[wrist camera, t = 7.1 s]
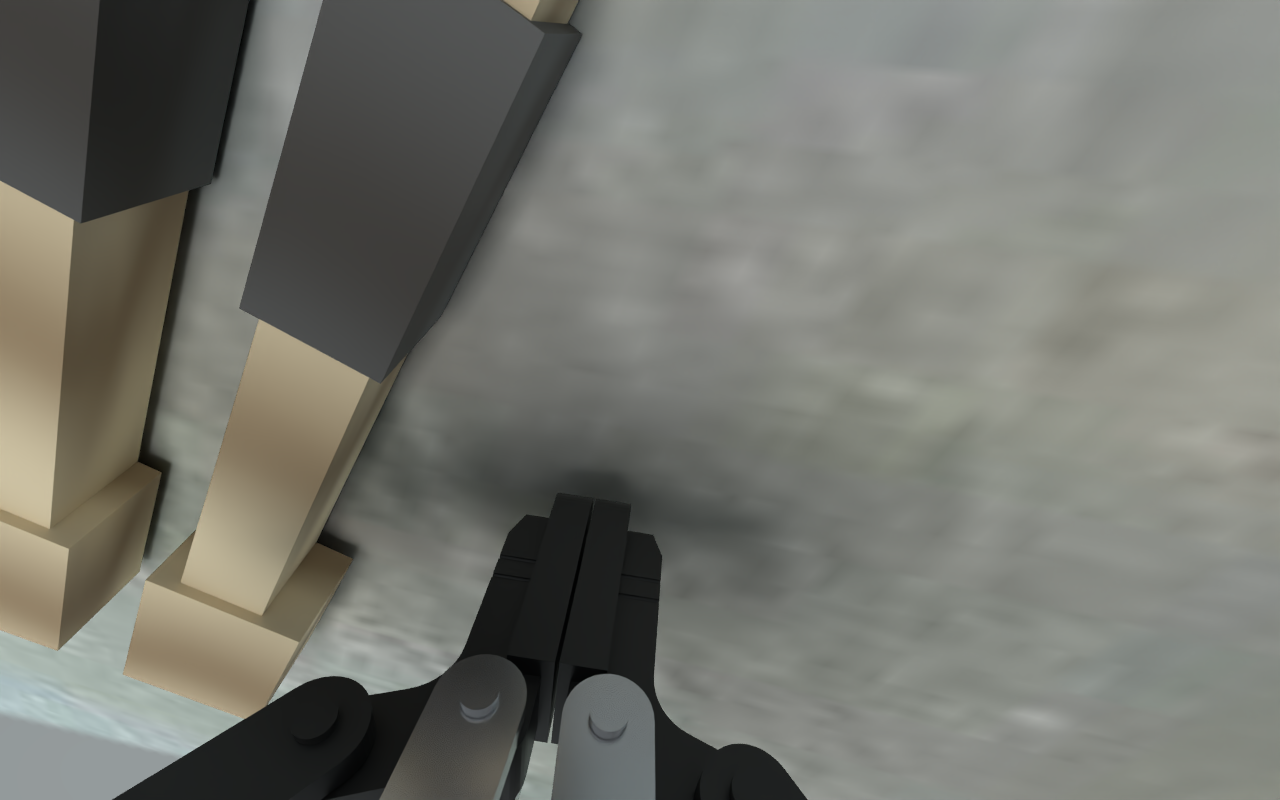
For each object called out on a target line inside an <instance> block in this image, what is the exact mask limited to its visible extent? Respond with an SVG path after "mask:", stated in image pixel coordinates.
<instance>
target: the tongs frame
mask: <svg viewBox="0 0 1280 800" xmlns="http://www.w3.org/2000/svg"><path fill="white" fill-rule="evenodd" d="M248 3H249V0H0V630H2V631H4V632H7V633H10V634H13V635H15V636H18V637H21V638H24V639H26V640H29V641H32V642H35V643H38V644H40V645H43V646H46V647H49V648H51V649H54V650H57V651H58V650H59V649H60V648H61V647H62V646H63V645H64V644H65V643H66V642H67V641H68V640H70V639H71V638H72V637H73V636H74V635H75V634H76V633H77V632H78V631H79V630H80V629H81V628H82V627H83V626H84V625H85V624H86V623H87V622H88V621H89V620H90V619H91V618H92V617H93V616H94V615H95V614H96V613H97V612H98V611H99V610H100V609H101V608H103V607H104V606H105V605H106V604H107V603H108V602H109V601H110V600H111V599H112V598H113V597H114V596H115V595H116V594H117V593H118V592H119V591H120V590H121V589H122V588H123V587H124V586H125V585H126V584H127V583H128V582H129V581H130V580H131V579H132V578H133V577H134V576H136V575H137V574H138V573H139V571H140V567H141V562H142V558H143V554H144V549H145V545H146V540H147V536H148V531H149V527H150V522H151V518H152V513H153V509H154V504H155V500H156V495H157V491H158V487H159V482H160V478H161V472H159V471H157V470H155V469H152V468H150V467H148V466H146V465H144V464H141V463H139V462H138V457H139V452H140V446H141V441H142V436H143V430H144V425H145V420H146V414H147V409H148V404H149V398H150V393H151V388H152V383H153V377H154V372H155V367H156V361H157V356H158V351H159V345H160V340H161V335H162V329H163V324H164V319H165V314H166V308H167V303H168V298H169V292H170V287H171V282H172V276H173V271H174V266H175V260H176V255H177V250H178V245H179V239H180V234H181V229H182V223H183V218H184V213H185V207H186V202H187V197H188V191H189V190H192V189H195V188H198V187H201V186H205V185H208V184H211V180H212V176H213V171H214V166H215V161H216V156H217V152H218V147H219V142H220V137H221V132H222V128H223V123H224V118H225V113H226V108H227V104H228V99H229V94H230V89H231V84H232V80H233V75H234V70H235V65H236V61H237V56H238V51H239V46H240V41H241V37H242V32H243V27H244V22H245V17H246V13H247V8H248Z"/></svg>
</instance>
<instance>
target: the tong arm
mask: <svg viewBox="0 0 1280 800" xmlns="http://www.w3.org/2000/svg"><path fill="white" fill-rule="evenodd" d="M578 1H579V0H323V3H322V6H321V10H320V14H319V17H318V21H317V25H316V28H315V32H314V36H313V39H312V43H311V47H310V50H309V54H308V58H307V61H306V65H305V69H304V72H303V76H302V80H301V83H300V87H299V91H298V94H297V98H296V102H295V105H294V109H293V113H292V116H291V120H290V124H289V127H288V131H287V135H286V138H285V142H284V146H283V149H282V153H281V157H280V160H279V164H278V168H277V171H276V175H275V179H274V182H273V186H272V190H271V193H270V197H269V201H268V204H267V208H266V212H265V216H264V219H263V223H262V227H261V230H260V234H259V238H258V241H257V245H256V249H255V252H254V256H253V260H252V263H251V267H250V271H249V274H248V278H247V282H246V285H245V289H244V293H243V296H242V300H241V304H240V307H239V308H240V309H242V310H243V311H245V312H247V313H249V314H251V315H253V316H255V317H257V318H258V319H259V321H258V324H257V328H256V331H255V334H254V338H253V341H252V344H251V348H250V351H249V354H248V358H247V361H246V365H245V368H244V371H243V375H242V378H241V381H240V385H239V388H238V391H237V395H236V398H235V401H234V405H233V408H232V411H231V415H230V418H229V422H228V425H227V428H226V432H225V435H224V438H223V442H222V445H221V448H220V452H219V455H218V458H217V462H216V465H215V469H214V472H213V475H212V479H211V482H210V485H209V489H208V492H207V495H206V499H205V502H204V505H203V509H202V512H201V515H200V519H199V522H198V526H197V529H196V530H195V531H194V532H193V533H192V534H191V535H190V536H189V537H188V538H187V539H186V540H185V541H184V542H183V543H182V544H181V545H180V546H179V547H178V548H177V549H176V550H175V551H174V552H173V553H172V554H171V555H170V556H169V557H168V558H167V559H166V560H165V561H164V562H163V563H162V564H161V565H160V566H159V567H158V568H157V569H156V570H155V571H154V572H153V573H152V574H151V575H150V576H149V577H148V578H147V579H146V581H145V585H144V589H143V593H142V597H141V602H140V606H139V610H138V614H137V618H136V622H135V626H134V631H133V635H132V639H131V643H130V647H129V651H128V655H127V660H126V664H125V668H124V672H123V675H126V676H128V677H131V678H134V679H137V680H139V681H142V682H145V683H148V684H150V685H153V686H156V687H159V688H161V689H164V690H167V691H170V692H172V693H175V694H178V695H181V696H183V697H186V698H189V699H192V700H194V701H197V702H200V703H202V704H205V705H208V706H211V707H213V708H216V709H219V710H222V711H224V712H227V713H230V714H233V715H235V716H238V717H241V718H244V719H246V718H247V717H249V716H251V715H252V714H254V713H256V712H257V711H259V710H261V709H262V708H264V707H266V706H267V704H268V703H269V701H270V700H271V698H272V697H273V695H274V693H275V692H276V690H277V689H278V687H279V686H280V684H281V682H282V681H283V679H284V678H285V676H286V675H287V673H288V671H289V670H290V668H291V667H292V665H293V664H294V662H295V660H296V659H297V657H298V656H299V654H300V653H301V651H302V649H303V648H304V646H305V645H306V643H307V642H308V640H309V638H310V636H311V634H312V633H313V631H314V629H315V627H316V625H317V624H318V622H319V620H320V618H321V616H322V615H323V613H324V611H325V609H326V607H327V606H328V604H329V602H330V600H331V598H332V597H333V595H334V593H335V591H336V589H337V588H338V586H339V584H340V582H341V580H342V579H343V577H344V575H345V573H346V571H347V569H348V568H349V566H350V564H351V562H352V560H353V559H352V558H350V557H348V556H345V555H343V554H341V553H339V552H336V551H334V550H332V549H330V548H328V547H325V546H323V545H321V544H319V543H317V540H318V538H319V536H320V534H321V531H322V529H323V527H324V525H325V523H326V521H327V519H328V517H329V515H330V513H331V511H332V509H333V507H334V505H335V503H336V501H337V498H338V496H339V494H340V492H341V490H342V488H343V486H344V484H345V482H346V480H347V478H348V476H349V474H350V472H351V470H352V467H353V465H354V463H355V461H356V459H357V457H358V455H359V453H360V451H361V449H362V447H363V445H364V443H365V441H366V439H367V437H368V434H369V432H370V430H371V428H372V426H373V424H374V422H375V420H376V418H377V416H378V414H379V412H380V410H381V408H382V406H383V403H384V401H385V399H386V397H387V395H388V393H389V391H390V389H391V387H392V385H393V383H394V381H395V379H396V377H397V375H398V372H399V370H400V368H401V366H402V364H403V362H404V360H405V358H406V356H407V354H408V353H409V351H410V350H411V349H412V348H413V347H414V346H415V345H416V344H417V343H418V341H419V340H420V339H421V338H422V337H423V336H424V335H425V334H426V333H427V331H428V330H429V329H430V328H431V327H432V326H433V325H434V324H435V322H436V321H437V320H438V319H439V318H440V317H441V315H442V313H443V311H444V309H445V307H446V305H447V303H448V301H449V299H450V297H451V295H452V293H453V291H454V289H455V287H456V285H457V283H458V281H459V279H460V277H461V275H462V273H463V271H464V269H465V267H466V265H467V263H468V261H469V259H470V257H471V255H472V253H473V251H474V249H475V247H476V245H477V243H478V241H479V239H480V237H481V235H482V233H483V231H484V229H485V227H486V225H487V223H488V221H489V219H490V217H491V215H492V213H493V211H494V209H495V207H496V205H497V203H498V201H499V199H500V197H501V195H502V193H503V191H504V189H505V187H506V185H507V183H508V181H509V179H510V177H511V175H512V173H513V171H514V169H515V167H516V165H517V163H518V161H519V159H520V157H521V155H522V153H523V151H524V149H525V147H526V145H527V143H528V141H529V139H530V137H531V135H532V133H533V131H534V129H535V127H536V125H537V123H538V121H539V119H540V117H541V115H542V114H543V112H544V110H545V108H546V106H547V104H548V102H549V100H550V98H551V96H552V94H553V92H554V90H555V88H556V86H557V84H558V82H559V80H560V78H561V76H562V74H563V72H564V70H565V68H566V66H567V64H568V62H569V60H570V58H571V56H572V54H573V52H574V50H575V48H576V46H577V44H578V42H579V40H580V38H581V36H582V33H580V32H579V31H578V30H576V29H575V28H574V27H572V26H571V25H570V24H569V23H568V22H569V19H570V17H571V15H572V13H573V11H574V9H575V7H576V5H577V3H578Z"/></svg>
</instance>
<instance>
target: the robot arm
mask: <svg viewBox="0 0 1280 800" xmlns="http://www.w3.org/2000/svg"><path fill="white" fill-rule="evenodd" d="M592 508H593V498H587V497H581V496H575V495H569V494H562V493H558V494H557V496H556V498H555V502H554V505H553V508H552V511H551V514H550V518H545V517H538V516H532V515H526V516H525V517H524V518H523V519H522V520H521V521H520V522H519V523H518V524H517V525H516V526H515V527H514V528H513V529H512V530H511V531H510V532H509V533H508V536H507V538H506V541H505V544H504V546H503V549H502V551H501V554H500V559H498V562H497V564H496V567H495V570H494V572H493V577H491V580H490V583H489V585H488V588H487V590H486V593H485V596H484V598H483V601H482V604H481V606H480V609H479V611H478V614H477V617H476V619H475V622H474V624H473V627H472V630H471V632H470V635H469V637H468V640H467V643H466V645H465V647H464V650H463V652H462V654H461V655H460V657H459V658H458V660H457V661H456V662H455V663H454V664H453V665H452V666H451V667H450V668H449V669H448V670H447V671H446V672H445V673H444V674H442V675H441V676H439V677H438V678H436V679H434V680H433V681H431V682H429V683H427V684H424V685H421V686H418V687H414V688H410V689H405V690H398V691H392V692H386V693H380V694H374V695H368V693H367V691H366V690H365V689H364V688H363V686H362V685H360V684H359V683H358V682H356V681H354V680H352V679H349V678H345V677H339V676H330V677H323V678H319V679H315V680H312V681H309V682H307V683H304V684H303V685H301V686H299V687H297V688H295V689H293V690H292V691H290V692H289V693H287V694H285V695H284V696H282V697H280V698H279V699H277V700H275V701H274V702H272V703H270V704H269V705H267V706H266V707H264V708H262V709H261V710H259V711H257V712H256V713H254V714H252V715H251V716H249V717H247V718H246V719H244V720H242V721H241V722H239V723H238V724H236V725H234V726H233V727H231V728H229V729H228V730H226V731H224V732H223V733H221V734H219V735H218V736H216V737H215V738H213V739H211V740H210V741H208V742H206V743H205V744H203V745H201V746H200V747H198V748H196V749H195V750H193V751H191V752H190V753H188V754H187V755H185V756H183V757H182V758H180V759H178V760H177V761H175V762H173V763H172V764H170V765H169V766H167V767H165V768H164V769H162V770H160V771H159V772H157V773H156V774H154V775H152V776H150V777H149V778H147V779H145V780H144V781H142V782H140V783H139V784H137V785H136V786H134V787H132V788H131V789H129V790H127V791H126V792H124V793H123V794H121V795H119V796H117V797H116V798H115V799H113V800H519V797H520V793H521V789H522V786H523V784H524V780H525V777H526V773H527V769H528V765H529V761H530V756H531V752H532V748H533V743H534V741H540V742H546V743H547V742H548V737H549V732H550V728H551V723H552V718H553V714H554V721H553V731H552V740H551V743H554V744H558V750H557V758H556V766H555V774H554V782H553V790H552V798H551V800H807V799H806V797H805V796H804V794H803V793H802V792H801V790H800V789H799V788H798V786H797V785H796V784H795V782H794V781H793V780H792V778H791V777H790V776H789V774H788V773H787V772H786V770H785V769H784V768H783V767H782V766H781V765H780V763H779V762H778V761H777V760H776V759H774V758H773V757H772V756H771V755H769V754H768V753H766V752H765V751H763V750H761V749H759V748H757V747H754V746H751V745H747V744H731V745H728V746H725V747H723V748H721V749H719V750H717V749H715V748H713V747H711V746H710V745H708V744H706V743H704V742H702V741H700V740H699V739H697V738H695V737H693V736H691V735H689V734H688V733H686V732H684V731H683V730H681V729H680V728H679V727H677V726H676V725H675V724H674V723H673V722H672V721H671V720H670V719H669V718H668V717H667V715H666V714H665V712H664V711H663V709H662V708H661V706H660V704H659V702H658V699H657V696H656V693H655V688H654V666H655V652H656V637H657V623H658V609H659V594H660V580H661V566H662V555H661V553H660V550H659V548H658V546H657V543H656V541H655V538H654V536H653V535H650V534H644V533H638V532H632V531H628V524H629V517H630V510H631V504H625V503H619V502H613V501H607V500H600V499H596V501H595V505H594V510H593V514H592ZM591 516H592V519H591ZM554 709H555V711H554Z"/></svg>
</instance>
